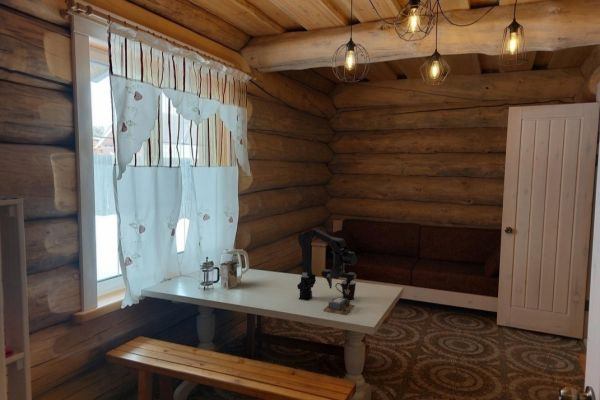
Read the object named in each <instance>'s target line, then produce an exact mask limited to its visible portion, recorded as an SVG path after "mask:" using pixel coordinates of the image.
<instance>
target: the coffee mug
mask: <svg viewBox="0 0 600 400" xmlns="http://www.w3.org/2000/svg"><path fill="white" fill-rule="evenodd" d="M346 280H347V279H343V280H342V281H341V283H340V282H337V283H336V284H335V289H337V291H338V292H340V293H341V294H342V298H346V299H348V301H353V300H354V299H355V295H356V292H355V291H356V284H357V282H356V281H355V280H352V281H351V282H350V284H349V287H348V290H347V291H346ZM337 285H340V286H341V290H340V289H339V288H338V287H337Z"/></svg>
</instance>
